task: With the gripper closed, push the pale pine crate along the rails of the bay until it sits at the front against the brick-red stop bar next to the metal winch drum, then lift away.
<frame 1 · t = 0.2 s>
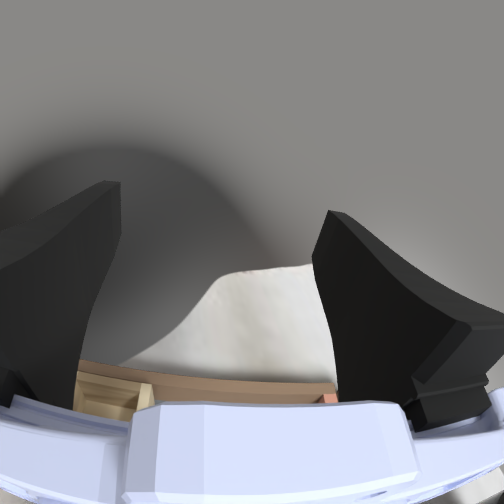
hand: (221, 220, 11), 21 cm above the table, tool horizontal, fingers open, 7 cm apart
crate: (102, 436, 20), point 3 cm above the table, slide at 0.0 cm
bay: (180, 459, 22), on the table
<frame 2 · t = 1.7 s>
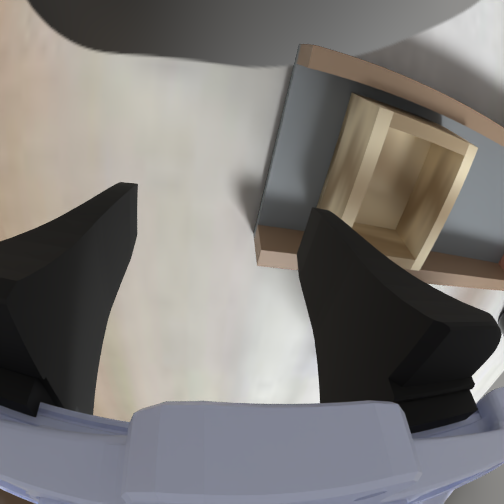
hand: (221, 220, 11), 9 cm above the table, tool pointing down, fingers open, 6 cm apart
crate: (392, 186, 18), point 3 cm above the table, slide at 0.0 cm
bay: (440, 187, 21), on the table
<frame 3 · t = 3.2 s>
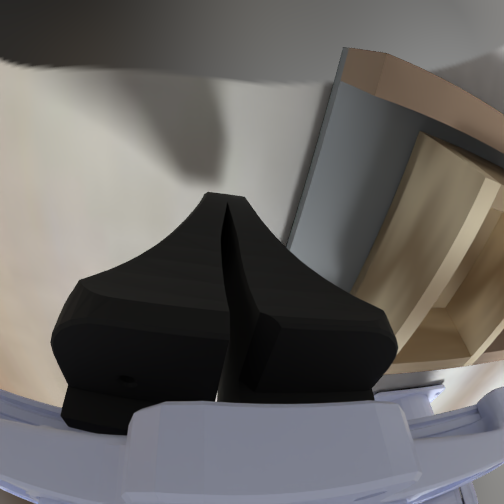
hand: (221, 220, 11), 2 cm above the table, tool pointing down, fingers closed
crate: (459, 269, 12), point 3 cm above the table, slide at 0.0 cm
bay: (500, 249, 15), on the table
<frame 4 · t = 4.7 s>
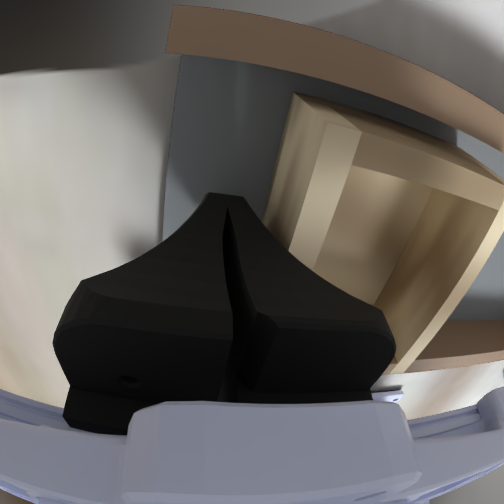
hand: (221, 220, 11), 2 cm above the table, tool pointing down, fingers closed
crate: (366, 256, 11), point 3 cm above the table, slide at 0.1 cm, touching gripper
bay: (446, 237, 14), on the table
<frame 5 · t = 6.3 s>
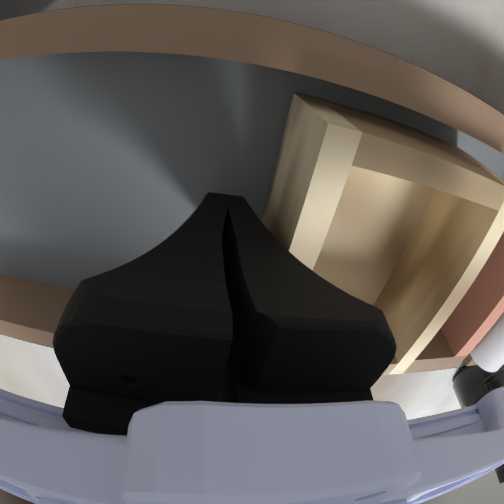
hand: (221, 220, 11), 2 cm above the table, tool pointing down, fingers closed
supplement bottle: (479, 364, 24), on the table
crate: (366, 256, 11), point 3 cm above the table, slide at 9.4 cm, touching gripper
bay: (266, 204, 13), on the table
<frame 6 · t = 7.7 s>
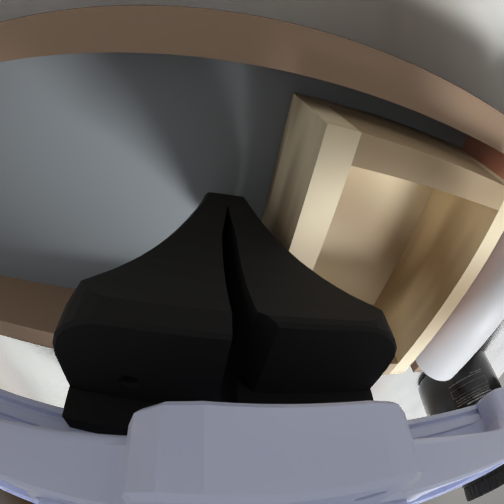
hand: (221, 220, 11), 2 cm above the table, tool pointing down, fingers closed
supplement bottle: (449, 368, 23), on the table
crate: (366, 256, 11), point 3 cm above the table, slide at 14.0 cm, touching gripper
bay: (146, 189, 12), on the table
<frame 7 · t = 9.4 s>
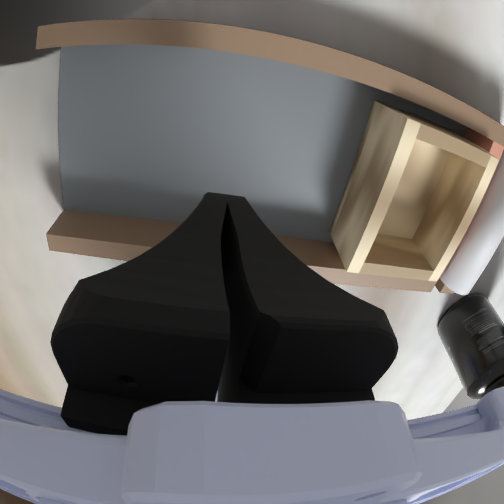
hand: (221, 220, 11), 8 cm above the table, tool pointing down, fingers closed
supplement bottle: (461, 313, 29), on the table
crate: (412, 196, 17), point 3 cm above the table, slide at 14.0 cm
bay: (277, 151, 18), on the table
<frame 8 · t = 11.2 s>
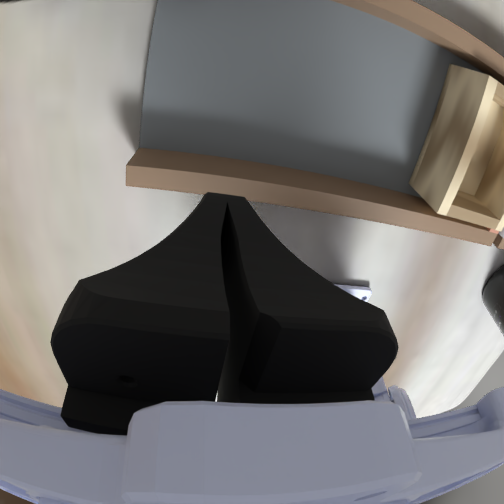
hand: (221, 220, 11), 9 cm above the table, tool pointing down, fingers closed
supplement bottle: (501, 280, 28), on the table
crate: (482, 150, 16), point 3 cm above the table, slide at 14.0 cm
bay: (369, 100, 17), on the table
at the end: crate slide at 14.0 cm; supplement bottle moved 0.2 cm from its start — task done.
